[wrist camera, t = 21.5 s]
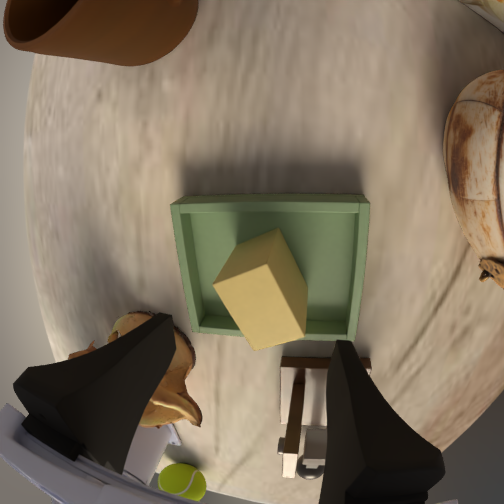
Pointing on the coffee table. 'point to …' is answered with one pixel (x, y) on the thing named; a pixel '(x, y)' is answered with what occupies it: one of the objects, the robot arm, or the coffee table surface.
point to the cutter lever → (313, 454)
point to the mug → (99, 28)
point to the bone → (173, 383)
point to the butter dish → (299, 242)
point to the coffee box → (488, 10)
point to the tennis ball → (182, 481)
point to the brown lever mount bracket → (302, 402)
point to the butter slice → (264, 291)
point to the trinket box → (479, 169)
